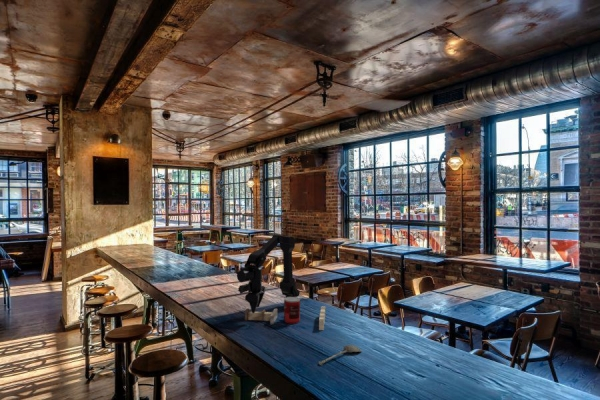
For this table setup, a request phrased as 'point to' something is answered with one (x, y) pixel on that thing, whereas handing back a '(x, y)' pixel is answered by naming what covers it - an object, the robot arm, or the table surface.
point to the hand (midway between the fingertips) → (255, 310)
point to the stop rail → (322, 318)
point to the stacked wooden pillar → (261, 315)
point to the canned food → (291, 310)
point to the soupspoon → (346, 349)
